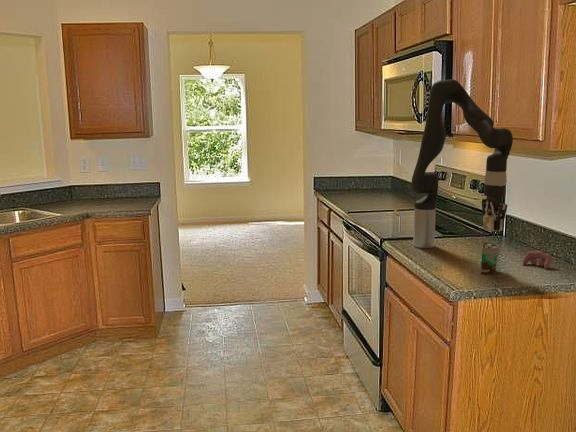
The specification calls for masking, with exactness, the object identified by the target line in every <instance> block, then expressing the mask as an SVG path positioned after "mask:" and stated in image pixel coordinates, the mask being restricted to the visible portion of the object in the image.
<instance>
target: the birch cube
mask: <svg viewBox="0 0 576 432" xmlns="http://www.w3.org/2000/svg"><path fill="white" fill-rule="evenodd" d="M503 221H504V219H502V220H501V221H500V230H494V229H493V228H494V215H486V216H485V215H483V218H482V230H485V231H487V232H502V231H503V224H504V223H503Z"/></svg>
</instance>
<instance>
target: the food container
mask: <svg viewBox="0 0 576 432" xmlns="http://www.w3.org/2000/svg"><path fill="white" fill-rule="evenodd" d="M499 253H501V249H500V246H499V244H497V243H495V242H492V241H491V242H490V241H483V245H482V249H481V262H480V263H481V264H480V265H481V266H480V274H482V275H490V274H495V273H496V268H497V261H498V257H499V256H498V255H499Z"/></svg>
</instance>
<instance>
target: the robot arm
mask: <svg viewBox="0 0 576 432" xmlns="http://www.w3.org/2000/svg"><path fill="white" fill-rule="evenodd" d="M447 104H455V105H457V106H458V107H460V108H461V111H462V115H463V119H464V121H465V122H466V123H467V125H468V126H469V127H470V128H471V129H472V130H474V131H475V132H476V133H477V135H478V137H479V139H480V141H481V142H482V143H483V144H484V145H485V146H486V147H487V148H488V149H489V148H490V149H494V151H493V153H492V154H490V155H488V156H487V158H486V165H485V175H484V185H483V186H484V187H483V195H484V196H485V197H486V198H482V199H481V210H482V211H481V212H482V213H481V214H482V215H483V216H486V215H494V228H493V229H494V230H500V221H501V220H502V219H503V220H505V218H506V214H507V210H508V204H507V203H503V197H504V198H505V197H506V192H507V181H508V179H507V175H508V174H507V169H508V168H507V167H508V158H509V156H510V152H511V149H512V146H513V142H514V136H513V132H512V131H511V130H510V129H508V128H503V127H502V128H495V127H494V124H495V122H494V120H493V119H492V117H491V116H490V115H488V114H487V113H486V112H485V111H484V110H482V109H481V108H480V107H479V106H478V104H476V103H475V101H474V100H473V99H472V97H471V96H470V95H469V94H468V92H467V90H466V89H465V88H464V87H463V85H462V84H461V83H460V82H459V81H458V80H456V79H455V78H454V79H451V78H450V79H443V80H438V81H435V82H433V84H432V85H431V88H430V91H429V97H428V106H427V114H426V119H425V123H424V129H423V134H422V137H421V143H420V148H419V152H418V158H417V161H416V164H415V167H414V170H413V173H412V177H411V182H410V183H411V185H410V186H411V190H412V192H413V193H415V194H425V195H424V196H423V197H422V198H420V199H418V200H416V201H415V202H414V207H413V208H414V210H413V212H414V214H413V233H412V235H413V236H412V245H413V247H415V248H418V249H419V248H420V249H431V248H435V237H436V236H435V235H436V209H437V207H436V206H437V201H438V191H439V176H438V174H437V173H436V172H435V171H427V169H428V167H429V166H430V164H431V163H433V161H434V160H435V159H436V158H437V157H438V156H439V155H440V153H441V152H442V151H443V149H444V145H445V141H446V137H447V132H446V128H445V125H444V123H443V119H442V113H443V108H444V105H447Z"/></svg>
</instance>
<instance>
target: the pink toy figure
mask: <svg viewBox="0 0 576 432" xmlns="http://www.w3.org/2000/svg"><path fill="white" fill-rule="evenodd" d="M537 259H538V260H539V259H540V260H539V261H538V260H537ZM552 261H553V257H552V256H551V254H549V253H547V252H545V251H543V250H530V251H528V252H527V253H526V255H525V256H524V258H523V260H522V265H523V266H526V265H527V264H528V263H529V262H530V264H531V265H534V266H536V265H537V264H538V266H540V267H544V269H545V270H547V269H549V267H550V264H551V263H552Z"/></svg>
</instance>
